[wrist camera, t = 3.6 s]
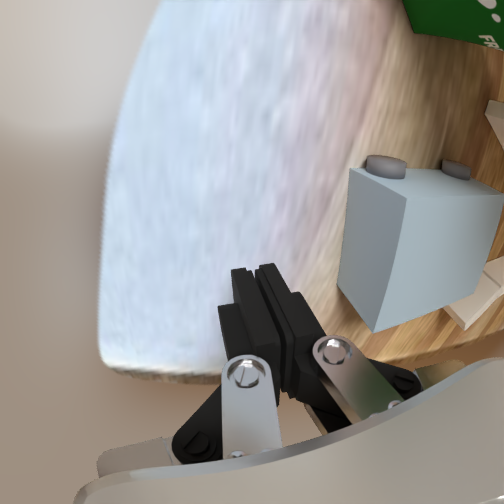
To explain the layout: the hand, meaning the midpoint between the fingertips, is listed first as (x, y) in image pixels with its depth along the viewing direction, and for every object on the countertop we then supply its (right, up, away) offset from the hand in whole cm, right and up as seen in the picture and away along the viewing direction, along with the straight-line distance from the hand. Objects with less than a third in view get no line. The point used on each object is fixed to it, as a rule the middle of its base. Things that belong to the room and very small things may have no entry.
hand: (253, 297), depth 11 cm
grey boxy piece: (+9, +4, +4) cm, 11 cm away
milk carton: (+11, +18, -3) cm, 21 cm away
